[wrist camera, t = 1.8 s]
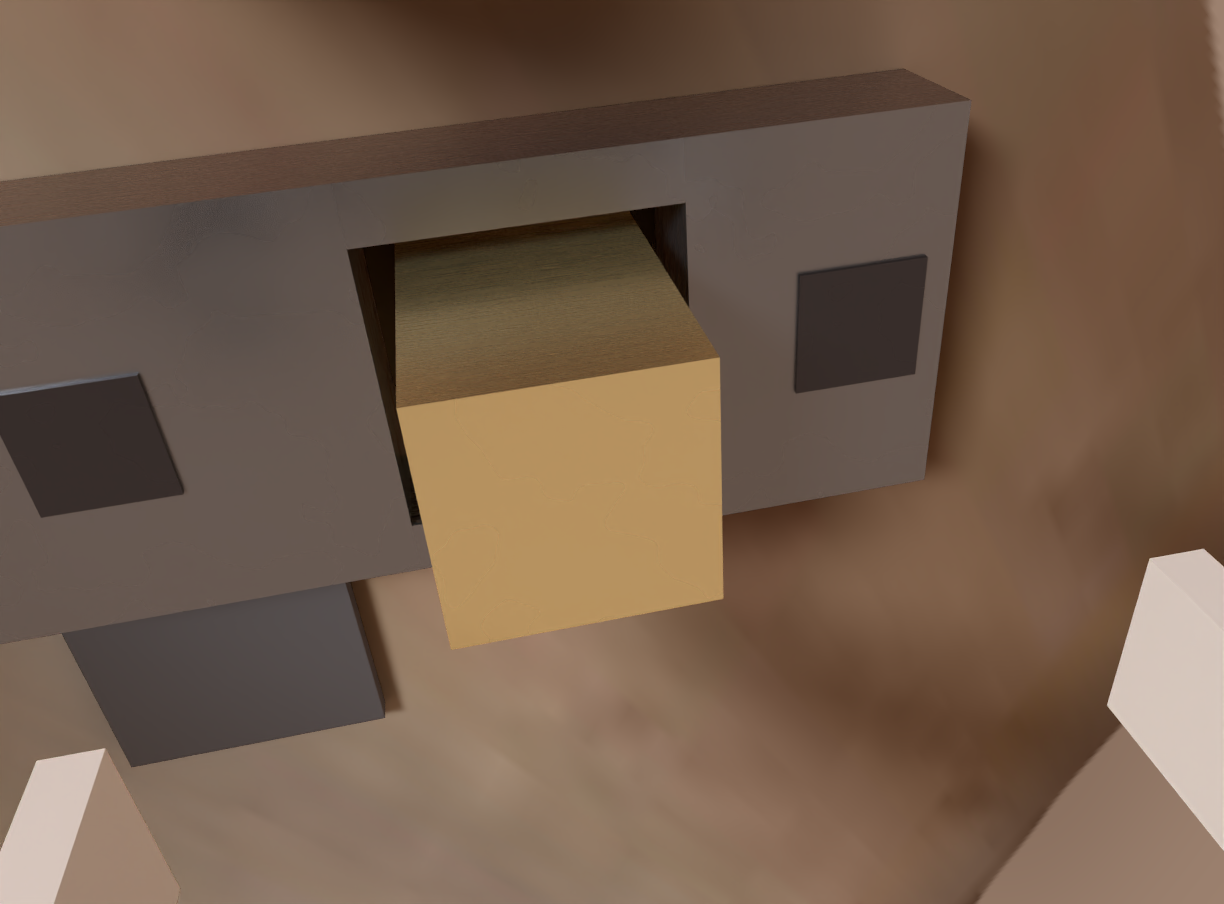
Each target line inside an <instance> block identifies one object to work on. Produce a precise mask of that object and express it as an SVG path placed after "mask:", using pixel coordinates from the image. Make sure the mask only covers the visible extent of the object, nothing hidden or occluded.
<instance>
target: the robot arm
mask: <svg viewBox="0 0 1224 904" xmlns="http://www.w3.org/2000/svg"><path fill="white" fill-rule="evenodd" d="M1107 706H1108V707H1109V709H1110V710H1111V711H1112V712H1113V714H1114V715H1115V716H1116V717H1117V719H1118V720H1119V721H1120V722H1121V724H1122V725H1123V726H1124V727H1125V728H1126V730H1127V731H1128V732H1129V733H1130V735H1131V736H1132V737H1133V738H1134V740H1135V741H1136V742H1137V743H1138V745H1139V746H1140V747H1141V748H1142V750H1143V751H1144V752H1145V753H1146V755H1147V756H1148V757H1149V758H1150V760H1151V761H1152V762H1153V763H1154V765H1155V766H1156V767H1157V768H1158V770H1159V771H1160V772H1161V773H1162V775H1163V776H1164V777H1165V778H1166V780H1167V781H1168V782H1169V783H1170V785H1171V786H1172V787H1173V788H1174V790H1175V791H1176V792H1177V793H1178V795H1179V796H1180V797H1181V798H1182V800H1183V801H1184V802H1185V803H1186V805H1187V806H1188V807H1189V808H1190V810H1191V811H1192V812H1193V813H1194V814H1195V816H1196V817H1197V818H1198V820H1199V821H1200V822H1201V823H1202V824H1203V826H1204V827H1205V828H1206V830H1207V831H1208V832H1209V833H1210V835H1211V836H1212V837H1213V838H1214V840H1215V841H1216V842H1217V843H1218V845H1219V846H1220V847H1221V848H1222V850H1223V851H1224V567H1223V566H1222V565H1221V564H1220V563H1219V562H1218V561H1217V560H1216V559H1214V558H1213V557H1212V556H1211V555H1210V554H1209V553H1208V552H1207V551H1206V550H1204V549H1200V550H1194V551H1189V552H1183V553H1178V554H1172V555H1167V556H1161V557H1156V558H1150V559H1149V563H1148V566H1147V570H1146V573H1145V576H1144V580H1143V583H1142V587H1141V590H1140V594H1139V597H1138V601H1137V604H1136V607H1135V611H1134V614H1133V618H1132V621H1131V625H1130V628H1129V631H1128V635H1127V638H1126V642H1125V645H1124V649H1123V652H1122V656H1121V659H1120V662H1119V666H1118V669H1117V673H1116V676H1115V680H1114V683H1113V687H1112V690H1111V693H1110V697H1109V700H1108V704H1107ZM179 893H180V887H179V885H178V883H177V881H176V880H175V878H174V876H173V874H172V872H171V870H170V868H169V866H168V865H167V863H166V861H165V859H164V857H163V855H162V853H161V851H160V850H159V848H158V846H157V844H156V842H155V840H154V838H153V836H152V835H151V833H150V831H149V829H148V827H147V825H146V823H145V821H144V820H143V818H142V816H141V814H140V812H139V810H138V808H137V806H136V805H135V803H134V801H133V799H132V797H131V795H130V793H129V791H128V790H127V788H126V786H125V784H124V782H123V780H122V778H121V776H120V775H119V773H118V771H117V769H116V767H115V765H114V763H113V761H112V760H111V758H110V756H109V754H108V752H107V750H106V748H104V749H98V750H93V751H87V752H82V753H76V754H71V755H65V756H60V757H54V758H49V759H43V760H38V761H36V763H35V766H34V768H33V771H32V773H31V776H30V778H29V781H28V783H27V786H26V788H25V791H24V793H23V796H22V798H21V801H20V803H19V806H18V808H17V811H16V813H15V816H14V818H13V821H12V823H11V826H10V828H9V831H8V833H7V836H6V838H5V841H4V843H3V846H2V848H1V851H0V904H177V902H178V897H179Z"/></svg>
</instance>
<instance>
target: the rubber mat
mask: <svg viewBox="0 0 1224 904" xmlns="http://www.w3.org/2000/svg"><path fill="white" fill-rule="evenodd" d="M62 635H63V637H64V639H65V641H66V643H67V645H68V647H69V649H70V650H71V652H72V654H73V656H74V658H75V660H76V662H77V664H78V666H79V668H80V670H81V671H82V673H83V675H84V677H85V679H86V681H87V683H88V685H89V687H90V689H91V691H92V692H93V694H94V696H95V698H96V700H97V702H98V704H99V706H100V708H101V710H102V712H103V713H104V715H105V717H106V719H107V721H108V723H109V725H110V727H111V729H112V731H113V733H114V734H115V736H116V738H117V740H118V742H119V744H120V746H121V748H122V750H123V752H124V754H125V755H126V757H127V759H128V761H129V763H130V765H131V767H136V766H141V765H146V764H151V763H156V762H161V761H167V760H172V759H177V758H182V757H187V756H192V755H197V754H202V753H208V752H213V751H218V750H223V749H228V748H233V747H238V746H243V745H249V744H254V743H259V742H264V741H269V740H274V739H279V738H284V737H289V736H295V735H300V734H305V733H310V732H315V731H320V730H325V729H330V728H336V727H341V726H346V725H351V724H356V723H361V722H366V721H371V720H377V719H382V718H385V700H384V697H383V693H382V690H381V686H380V683H379V679H378V676H377V673H376V669H375V666H374V662H373V659H372V655H371V652H370V648H369V645H368V642H367V638H366V635H365V631H364V628H363V624H362V621H361V618H360V614H359V611H358V607H357V604H356V600H355V597H354V593H353V590H352V587H351V583H350V582H347V583H341V584H335V585H330V586H324V587H318V588H313V589H307V590H302V591H296V592H290V593H285V594H279V595H274V596H268V597H262V598H257V599H251V600H246V601H240V602H234V603H229V604H223V605H217V606H212V607H206V608H201V609H195V610H189V611H184V612H178V613H173V614H167V615H161V616H156V617H150V618H145V619H139V620H133V621H128V622H122V623H116V624H111V625H105V626H100V627H94V628H88V629H83V630H77V631H72V632H66V633H62Z"/></svg>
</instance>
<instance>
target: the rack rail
mask: <svg viewBox="0 0 1224 904" xmlns="http://www.w3.org/2000/svg"><path fill="white" fill-rule="evenodd" d="M970 107H971V100H970V99H968V98H966V97H963V96H961V95H959V94H957V93H955V92H953V91H951V90H948V89H946V88H944V87H942V86H940V85H938V84H936V83H933V82H931V81H929V80H927V79H925V78H923V77H921V76H918V75H916V74H914V73H912V72H910V71H908V70H906V69H898V70H890V71H882V72H874V73H866V74H858V75H850V76H842V77H834V78H826V79H818V80H810V81H802V82H794V83H786V84H778V85H770V86H762V87H754V88H746V89H738V90H730V91H722V92H714V93H706V94H698V95H690V96H682V97H674V98H666V99H658V100H650V101H642V102H634V103H626V104H618V105H610V106H602V107H594V108H586V109H578V110H570V111H562V112H554V113H546V114H538V115H530V116H522V117H514V118H506V119H498V120H490V121H482V122H474V123H466V124H458V125H450V126H442V127H434V128H426V129H418V130H410V131H402V132H394V133H386V134H378V135H370V136H362V137H354V138H346V139H338V140H330V141H322V142H314V143H306V144H298V145H290V146H282V147H274V148H266V149H258V150H250V151H242V152H234V153H226V154H218V155H210V156H202V157H194V158H186V159H178V160H170V161H162V162H154V163H146V164H138V165H130V166H122V167H114V168H106V169H98V170H90V171H82V172H74V173H66V174H58V175H50V176H42V177H34V178H26V179H18V180H10V181H2V182H0V644H4V643H10V642H15V641H21V640H27V639H32V638H38V637H43V636H49V635H55V634H60V633H66V632H72V631H77V630H83V629H88V628H94V627H100V626H105V625H111V624H116V623H122V622H128V621H133V620H139V619H145V618H150V617H156V616H161V615H167V614H173V613H178V612H184V611H189V610H195V609H201V608H206V607H212V606H217V605H223V604H229V603H234V602H240V601H246V600H251V599H257V598H262V597H268V596H274V595H279V594H285V593H290V592H296V591H302V590H307V589H313V588H318V587H324V586H330V585H335V584H341V583H347V582H352V581H358V580H363V579H369V578H375V577H380V576H386V575H391V574H397V573H403V572H408V571H414V570H419V569H425V568H431V567H432V564H431V559H430V555H429V550H428V546H427V542H426V537H425V533H424V528H423V524H422V520H421V515H420V511H419V506H418V502H417V498H416V493H415V489H414V484H413V480H412V476H411V471H410V467H409V462H408V458H407V454H406V449H405V445H404V440H403V436H402V432H401V427H400V423H399V418H398V414H397V410H396V392H395V388H394V383H393V379H392V374H391V370H390V366H389V361H388V357H387V352H386V348H385V343H384V339H383V335H382V330H381V326H380V321H379V317H378V312H377V308H376V303H375V299H374V295H373V290H372V286H371V281H370V277H369V272H368V268H367V264H366V259H365V255H364V250H363V247H369V246H377V245H384V244H391V243H398V242H406V241H413V240H420V239H427V238H434V237H442V236H449V235H456V234H463V233H471V232H478V231H485V230H492V229H499V228H507V227H514V226H521V225H528V224H536V223H543V222H550V221H557V220H565V219H572V218H579V217H586V216H593V215H601V214H608V213H615V212H622V211H630V210H637V209H644V208H651V207H654V220H655V239H656V256H657V257H658V259H659V260H660V262H661V264H662V265H663V267H664V268H665V270H666V272H667V273H668V275H669V276H670V278H671V280H672V281H673V283H674V284H675V286H676V288H677V289H678V291H679V293H680V294H681V296H682V297H683V299H684V301H685V302H686V304H687V305H688V307H689V309H690V310H691V312H692V313H693V315H694V317H695V318H696V320H697V321H698V323H699V325H700V326H701V328H702V330H703V331H704V333H705V334H706V336H707V338H708V339H709V341H710V342H711V344H712V346H713V347H714V349H715V350H716V352H717V354H718V355H719V357H720V403H721V472H722V516H723V515H728V514H734V513H739V512H745V511H751V510H756V509H762V508H767V507H773V506H779V505H784V504H790V503H795V502H801V501H807V500H812V499H818V498H824V497H829V496H835V495H840V494H846V493H852V492H857V491H863V490H868V489H874V488H880V487H885V486H891V485H897V484H902V483H908V482H913V481H919V480H924V477H925V469H926V461H927V453H928V445H929V437H930V429H931V420H932V412H933V404H934V396H935V388H936V380H937V372H938V364H939V356H940V348H941V340H942V332H943V324H944V316H945V308H946V300H947V292H948V284H949V276H950V268H951V260H952V252H953V244H954V236H955V228H956V220H957V212H958V204H959V196H960V188H961V180H962V172H963V164H964V156H965V148H966V139H967V131H968V123H969V115H970Z"/></svg>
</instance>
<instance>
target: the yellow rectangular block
mask: <svg viewBox="0 0 1224 904" xmlns="http://www.w3.org/2000/svg"><path fill="white" fill-rule="evenodd" d="M395 330H396V410H397V414H398V418H399V423H400V427H401V432H402V436H403V440H404V445H405V449H406V454H407V458H408V462H409V467H410V471H411V476H412V480H413V484H414V489H415V493H416V498H417V502H418V506H419V511H420V515H421V520H422V524H423V528H424V533H425V537H426V542H427V546H428V550H429V555H430V559H431V564H432V568H433V572H434V577H435V581H436V586H437V590H438V594H439V599H440V603H441V608H442V612H443V616H444V621H445V625H446V630H447V634H448V638H449V643H450V647H451V650H453V649H459V648H464V647H469V646H475V645H480V644H485V643H491V642H496V641H501V640H507V639H512V638H517V637H523V636H528V635H533V634H539V633H544V632H549V631H555V630H560V629H565V628H571V627H576V626H581V625H587V624H592V623H597V622H603V621H608V620H613V619H619V618H624V617H629V616H635V615H640V614H645V613H650V612H656V611H661V610H666V609H672V608H677V607H682V606H688V605H693V604H698V603H704V602H709V601H714V600H720V599H723V541H722V472H721V403H720V357H719V355H718V354H717V352H716V350H715V349H714V347H713V346H712V344H711V342H710V341H709V339H708V338H707V336H706V334H705V333H704V331H703V330H702V328H701V326H700V325H699V323H698V321H697V320H696V318H695V317H694V315H693V313H692V312H691V310H690V309H689V307H688V305H687V304H686V302H685V301H684V299H683V297H682V296H681V294H680V293H679V291H678V289H677V288H676V286H675V284H674V283H673V281H672V280H671V278H670V276H669V275H668V273H667V272H666V270H665V268H664V267H663V265H662V264H661V262H660V260H659V259H658V257H657V256H656V254H655V252H654V251H653V249H652V247H651V246H650V244H649V243H648V241H647V239H646V238H645V236H644V235H643V233H642V231H641V230H640V228H639V227H638V225H637V223H636V222H635V220H634V219H633V217H632V215H631V214H630V212H629V211H622V212H615V213H608V214H601V215H593V216H586V217H579V218H572V219H565V220H557V221H550V222H543V223H536V224H528V225H521V226H514V227H507V228H499V229H492V230H485V231H478V232H471V233H463V234H456V235H449V236H442V237H434V238H427V239H420V240H413V241H406V242H398V243H395Z"/></svg>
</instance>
